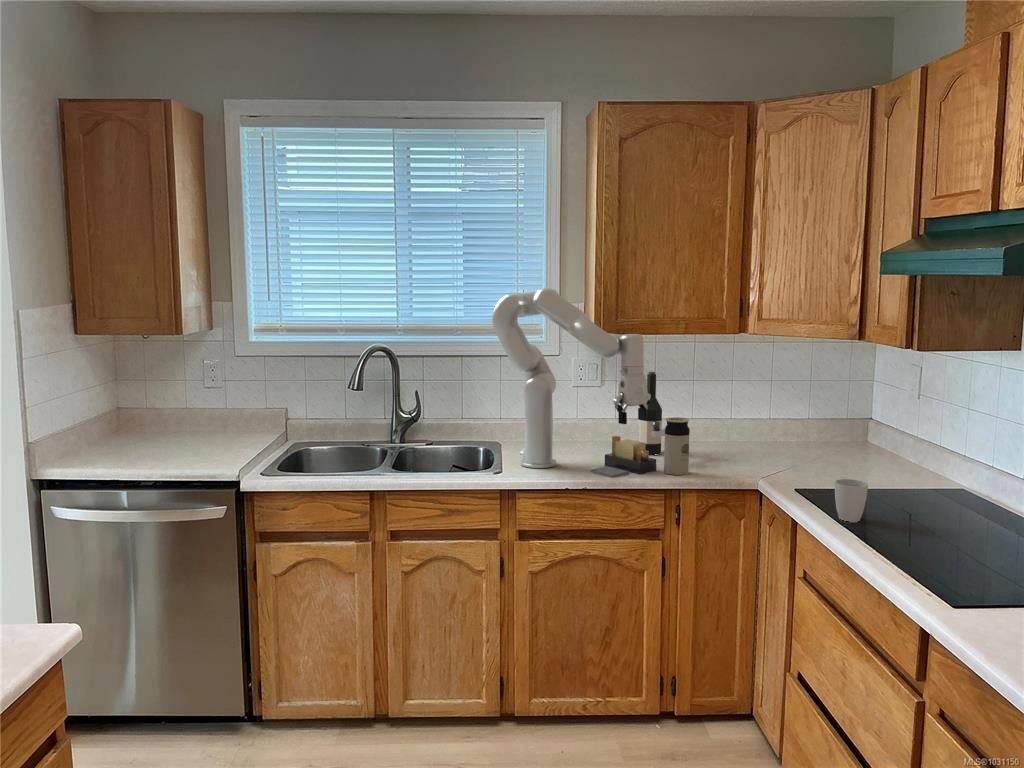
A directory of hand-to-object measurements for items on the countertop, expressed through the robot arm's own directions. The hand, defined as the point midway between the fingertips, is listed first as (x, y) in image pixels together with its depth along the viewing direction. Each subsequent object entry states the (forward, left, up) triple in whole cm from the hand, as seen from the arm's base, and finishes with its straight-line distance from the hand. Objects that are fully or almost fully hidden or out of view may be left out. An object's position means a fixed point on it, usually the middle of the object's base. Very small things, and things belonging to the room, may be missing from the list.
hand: (632, 421), depth 269 cm
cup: (+77, +1, -16) cm, 78 cm away
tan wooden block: (0, 0, -12) cm, 12 cm away
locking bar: (0, +19, -7) cm, 20 cm away
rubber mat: (0, -10, -16) cm, 19 cm away
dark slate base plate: (0, 0, -16) cm, 16 cm away
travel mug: (+14, +7, -16) cm, 22 cm away
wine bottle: (-12, +24, -16) cm, 31 cm away
